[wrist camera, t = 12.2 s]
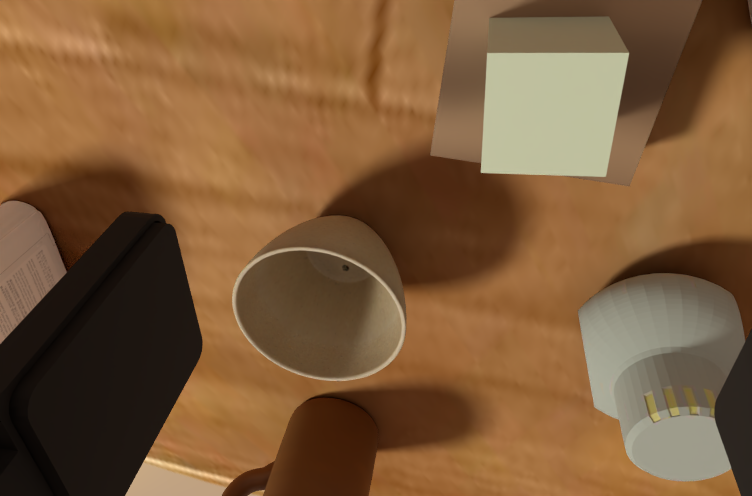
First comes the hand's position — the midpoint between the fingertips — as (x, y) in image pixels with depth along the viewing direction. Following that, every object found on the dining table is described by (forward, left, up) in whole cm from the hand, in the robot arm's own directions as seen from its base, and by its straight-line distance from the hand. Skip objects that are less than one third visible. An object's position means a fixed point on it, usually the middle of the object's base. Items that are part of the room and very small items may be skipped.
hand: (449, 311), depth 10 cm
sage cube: (+3, +3, -20) cm, 21 cm away
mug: (+35, -10, -24) cm, 44 cm away
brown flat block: (+3, +4, -24) cm, 25 cm away
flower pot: (+16, -7, -24) cm, 30 cm away
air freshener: (+19, +13, -24) cm, 33 cm away
